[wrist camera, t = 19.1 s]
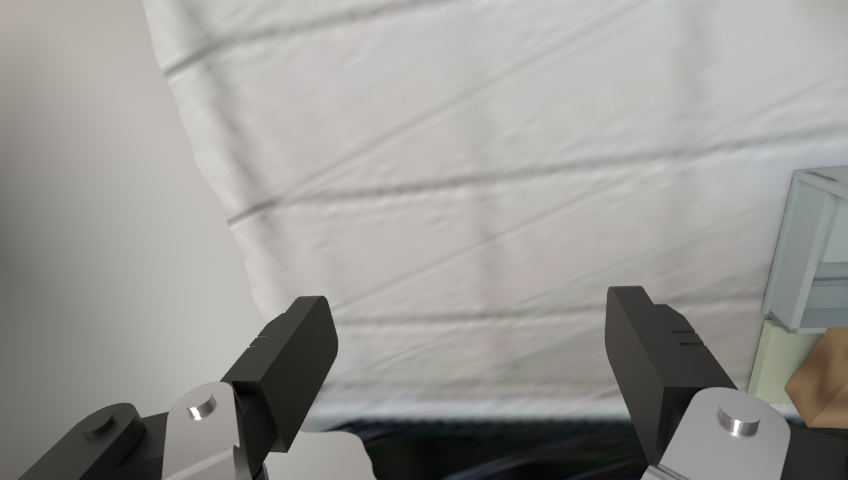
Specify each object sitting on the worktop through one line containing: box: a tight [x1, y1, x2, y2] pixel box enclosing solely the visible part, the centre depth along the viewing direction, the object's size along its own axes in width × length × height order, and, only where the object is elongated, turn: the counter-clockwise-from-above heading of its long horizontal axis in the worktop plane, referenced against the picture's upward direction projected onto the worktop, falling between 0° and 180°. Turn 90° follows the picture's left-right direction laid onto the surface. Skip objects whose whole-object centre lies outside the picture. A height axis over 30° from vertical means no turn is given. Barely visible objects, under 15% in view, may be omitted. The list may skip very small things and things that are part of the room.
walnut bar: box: [784, 327, 848, 428], centre depth 36 cm, size 10×4×4 cm, turn 7°
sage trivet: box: [747, 320, 825, 404], centre depth 40 cm, size 10×10×1 cm
